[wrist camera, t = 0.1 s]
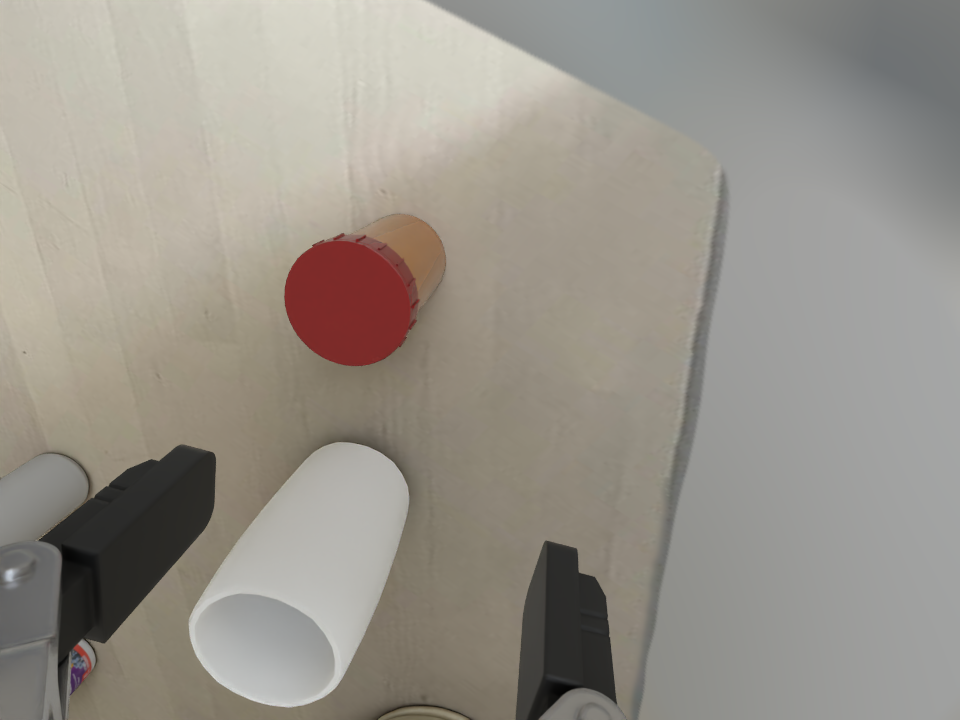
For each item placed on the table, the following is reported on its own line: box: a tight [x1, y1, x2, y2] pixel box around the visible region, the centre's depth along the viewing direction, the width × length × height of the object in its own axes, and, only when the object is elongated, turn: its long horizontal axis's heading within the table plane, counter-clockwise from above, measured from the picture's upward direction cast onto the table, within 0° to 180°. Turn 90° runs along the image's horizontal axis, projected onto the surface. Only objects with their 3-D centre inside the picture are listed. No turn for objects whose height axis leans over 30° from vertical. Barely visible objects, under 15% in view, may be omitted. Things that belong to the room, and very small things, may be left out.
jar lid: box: [284, 233, 420, 366], centre depth 26 cm, size 6×6×2 cm
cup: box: [189, 442, 409, 707], centre depth 34 cm, size 8×8×14 cm
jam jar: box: [352, 214, 446, 313], centre depth 30 cm, size 5×5×9 cm
